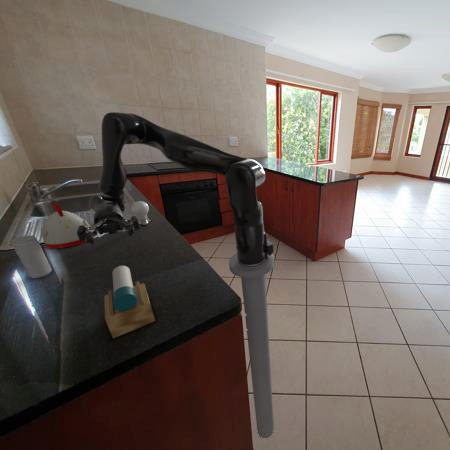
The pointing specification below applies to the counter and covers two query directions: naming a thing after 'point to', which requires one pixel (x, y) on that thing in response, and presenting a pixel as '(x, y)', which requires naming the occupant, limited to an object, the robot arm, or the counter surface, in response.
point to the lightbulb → (141, 211)
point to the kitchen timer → (62, 229)
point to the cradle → (128, 313)
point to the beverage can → (32, 256)
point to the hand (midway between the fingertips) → (111, 236)
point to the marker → (123, 289)
